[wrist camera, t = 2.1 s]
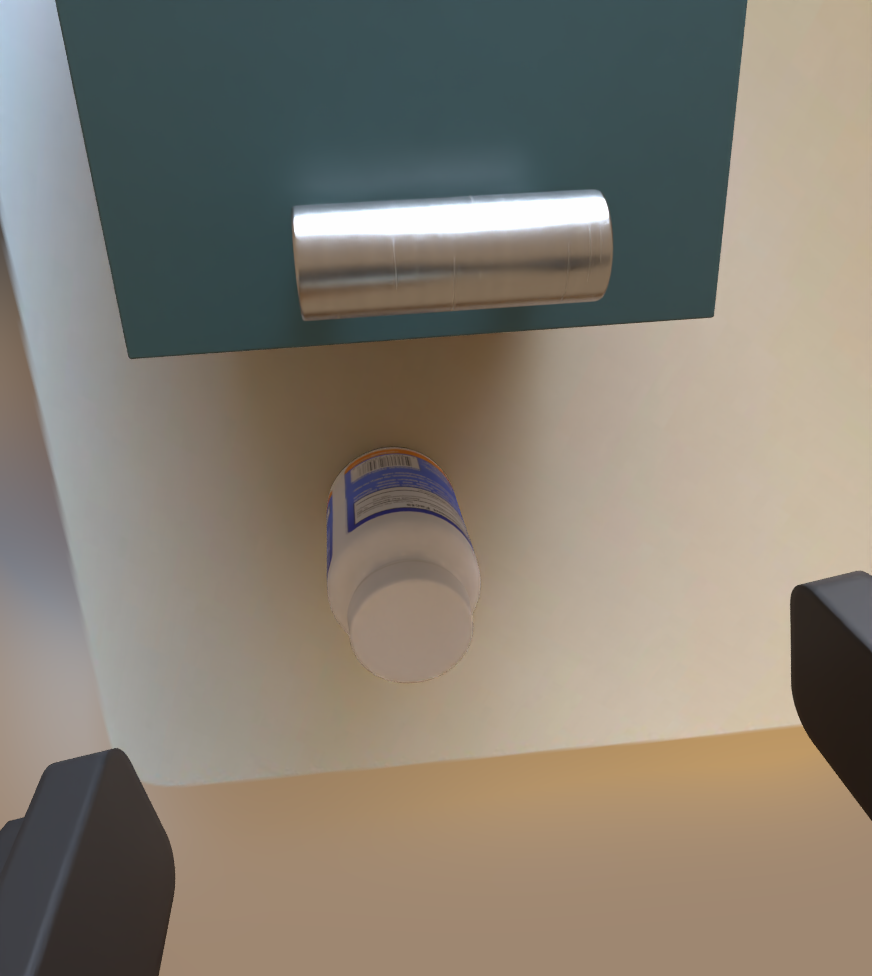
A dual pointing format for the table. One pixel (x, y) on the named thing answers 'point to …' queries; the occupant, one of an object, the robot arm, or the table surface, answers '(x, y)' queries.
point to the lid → (403, 164)
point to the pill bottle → (400, 565)
